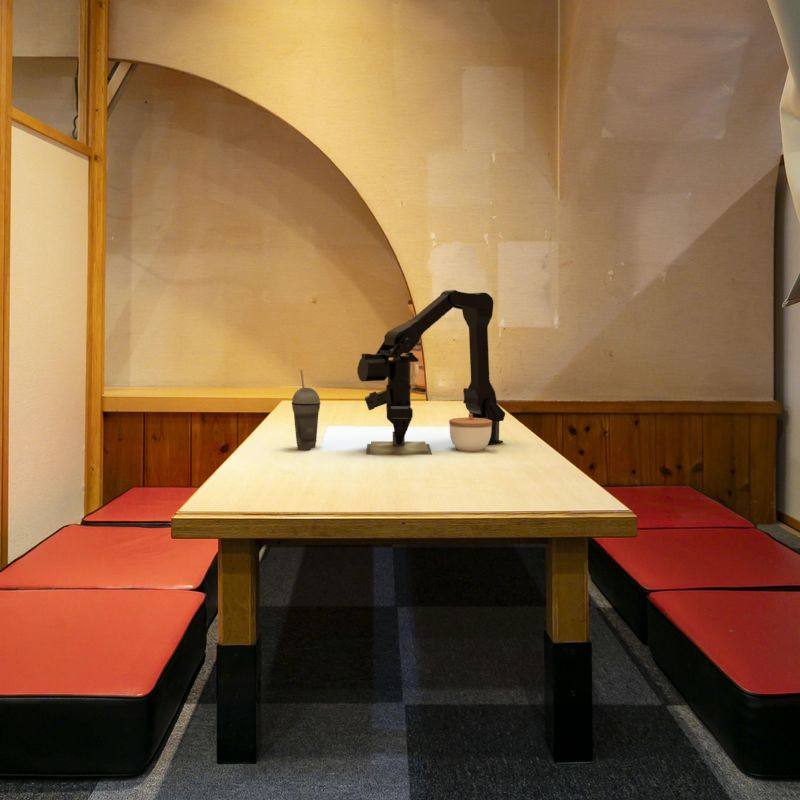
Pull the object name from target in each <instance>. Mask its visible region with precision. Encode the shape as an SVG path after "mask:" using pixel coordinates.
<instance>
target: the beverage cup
mask: <svg viewBox="0 0 800 800" xmlns="http://www.w3.org/2000/svg"><path fill="white" fill-rule="evenodd" d="M299 371H300V378H301V379H300V380H301V386H302V387H301V388H299V389H297V390H296V391H295V392H294V394H293V396H292V400H291V405H292V406H291V407H292V412H293V421H294V429H295V440H296V446H297V448H296V449H297V450H299V451H310V450H311V449H315V448H316V445H317V438H318V437H317V435H318V423H319V422H318V421H319V412H320V407H321V399H320V396H319V394H318V392H317V391H316V390H315V389H313V388H312V387H305V381H304V373H303V369H300V370H299Z"/></svg>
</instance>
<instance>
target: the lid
mask: <svg viewBox="0 0 800 800" xmlns="http://www.w3.org/2000/svg"><path fill="white" fill-rule="evenodd" d="M405 436H406V435H405ZM405 436H404V439H403V441H402V444H401V445H397V443H396V437H395V432H394V430H393V431H392V441H390V440H389V441H386V440H385V441H383V440H382V441H381V440H379V441H377V440H373V441H370V444H371V447H370V454H428V449H427V446H426V444H427V443H426V441H419V440H418V441H417V440H416V441H405V438H406V437H405Z"/></svg>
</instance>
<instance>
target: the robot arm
mask: <svg viewBox="0 0 800 800" xmlns="http://www.w3.org/2000/svg"><path fill="white" fill-rule="evenodd" d="M452 309H457V310H461V311H462V317H463V319H464V321H465V323H466V325H467V327H468V337H469V361H470V362H469V363H470V366H469V367H470V383H469V385H468V387H466V388H463V396H464V397H463V402H462V404H464V405H465V408H466V410H468V412H469V413H468V414H473V418H484V419H489V420H492V430H491V437H490V441H489V443H488V444H487V445H493V444H502V443H504V440H502V439H500V422H504V420H505V417H506V412H505V411H504V410H503V408H501V406H499V404H498V400H497V394H496V391H495V389H494V387H493V384H492V383H491V380H490V360H489V359H490V358H489V354H490V353H489V330H488V329H489V328H488V327H489V324H490V323H491V320H492V317H493V312H494V299H493V297H492V296H491V295H490V293H487V292H462V291H458V290H456V289H451V290H443V291H442V292H441V293H440V295H439V296H437V297H436V298H435V299H434V300H433V301H432V302H430V304H428V305H427V306H425V307H424V308H423V309H422V310H421V311H420V312H419V313H417V314H416V315H415V316H413V318H411V319H410V320H408V321H407V322H405V323H402V324H399V325H397V326H395V327H393V328H392V329H390V330H388V331H387V332H386V333H385V335H384V340H383V342H382V344H381V345H380V347H379V348H378V349H377V352H376V353H361V358H360V359H359V362H358V365H357V366H356V369H357V377H358V379H359V381H361V382H364V383H366V382H384V381H385V380H386V379H387V384H386V386H385V389H383V390H380V391H373V392H369V395H367V396H365V397H364V401H365V404H366V407H367V409H368V411H372V410H374V409H375V408H377V407H380V406H383V405H386V407H385V408H386V418H387V420H388V421H389V422H390V423H391V425H393V431H394V432H395V437H396V443H397V445H401V444H402V441H403V439H404V436H406V433H407V432H408V430H409V426H410V423H411V421H412V419H413V418H414V416H413V415H414V414H413V413H414V411H413V410H414V409H413V408H412V407H411V406H412V403H411V389H412V385H411V379H412V378H411V373H412V372H411V369H412V368H411V364H412V363H416V362H417V363H418V362H419V358H417V356H415V355H414V353H413V352H412V351H413V349H414V348H415V347H416V345H417V344H418V343H419V342H420V340H421V337H422V335H423V334H425V332H426V331H427V330H428V329H430V328H431V327H432V326H433V325H435V324H436V323H437V322H438V321H439V320H440V319H441V318H442V317H444V316H445V315H446V314H447V313H448V312H449V311H451V310H452ZM390 358H391V359H390Z"/></svg>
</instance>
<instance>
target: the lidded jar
mask: <svg viewBox="0 0 800 800" xmlns="http://www.w3.org/2000/svg"><path fill="white" fill-rule="evenodd" d="M448 422H449V423H448V424H449V436H450V440H451V443H452V444H453V446H454V447H455V448H456V449H457V450H459V451H462V452H481V451H483V450H484V449H485V448H487V446H488V445H489V444H488V443H489V441H490V437H491V430H492V420H489V419H484V418H473V414H470V413H468V417H455V418H450V419H449V421H448Z"/></svg>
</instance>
